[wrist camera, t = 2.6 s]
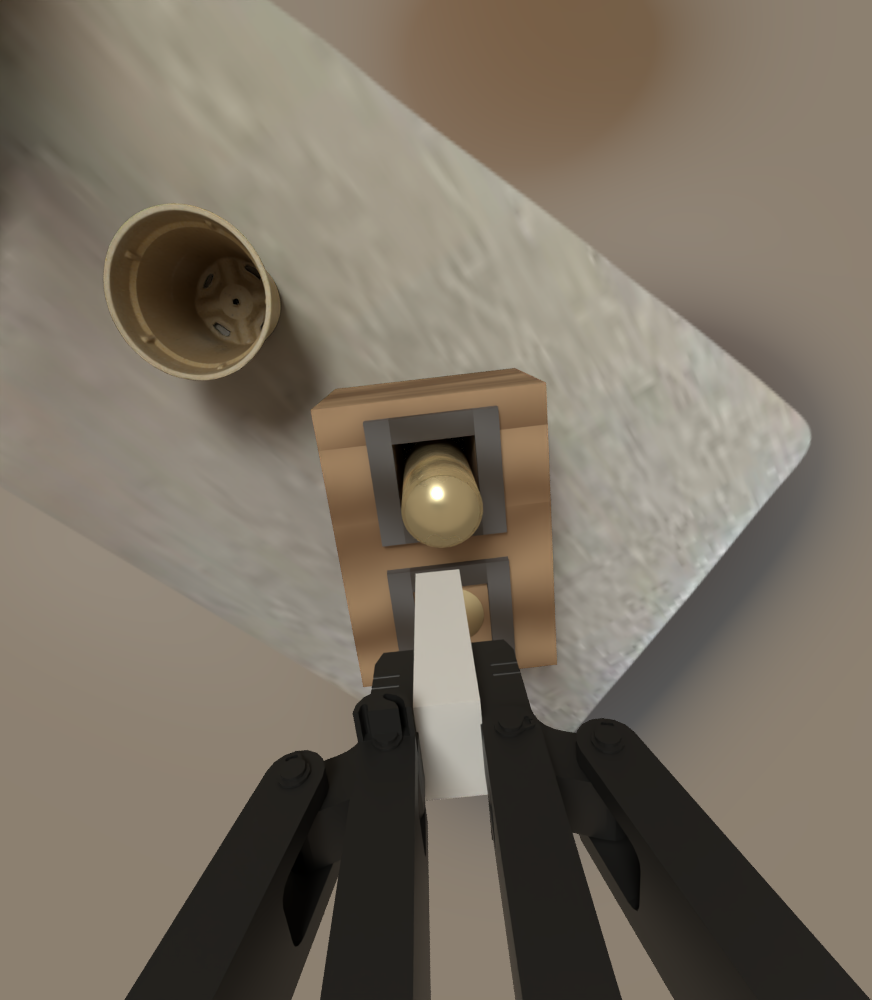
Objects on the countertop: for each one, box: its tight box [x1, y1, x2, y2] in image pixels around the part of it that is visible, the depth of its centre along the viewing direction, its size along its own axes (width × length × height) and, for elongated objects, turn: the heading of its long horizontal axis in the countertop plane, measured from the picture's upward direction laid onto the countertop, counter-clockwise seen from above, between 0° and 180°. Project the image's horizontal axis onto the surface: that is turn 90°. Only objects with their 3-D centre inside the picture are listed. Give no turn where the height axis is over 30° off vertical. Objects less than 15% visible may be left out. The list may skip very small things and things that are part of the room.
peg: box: [401, 438, 483, 548], centre depth 30 cm, size 4×4×8 cm
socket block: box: [311, 368, 557, 687], centre depth 38 cm, size 20×14×11 cm
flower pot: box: [103, 203, 281, 380], centre depth 34 cm, size 9×9×9 cm
